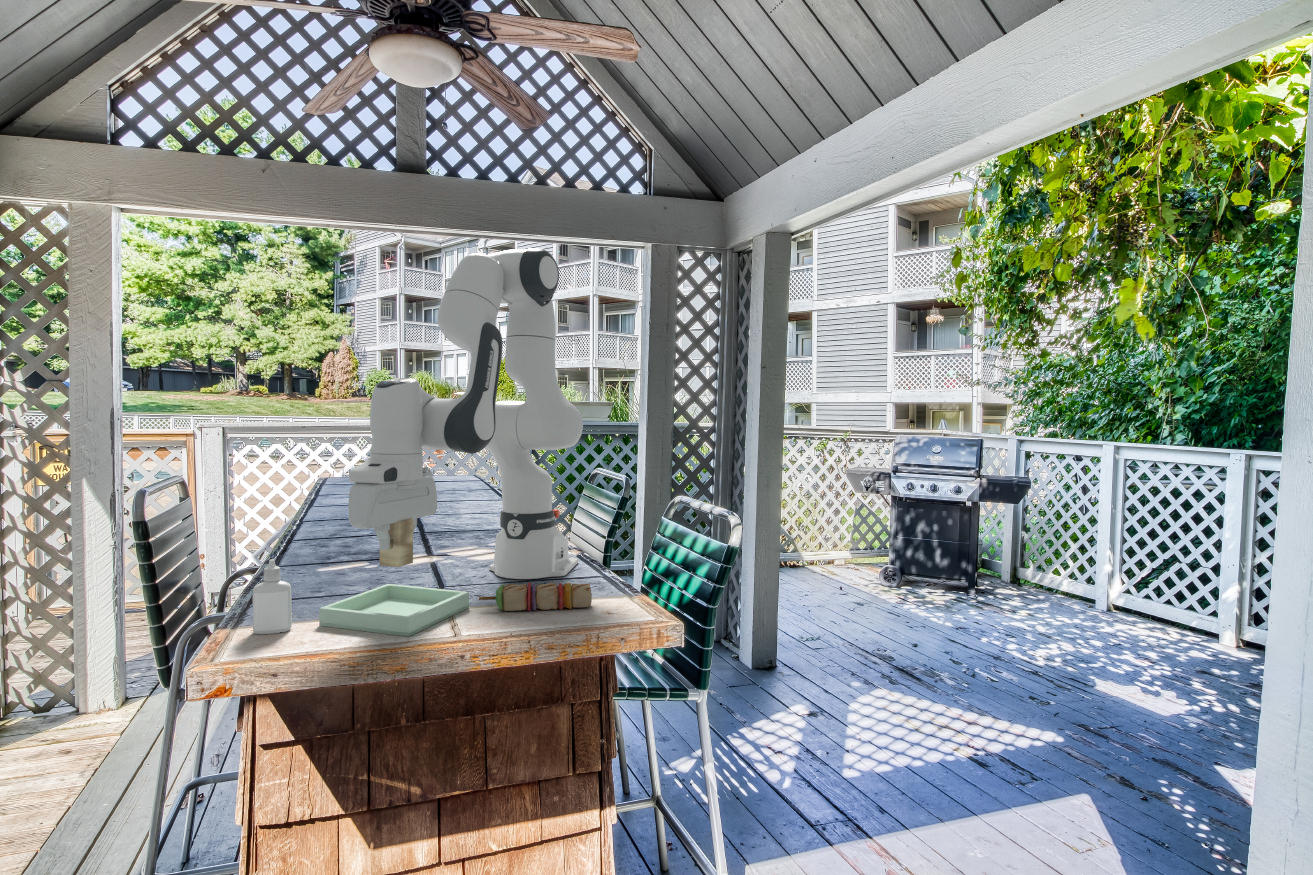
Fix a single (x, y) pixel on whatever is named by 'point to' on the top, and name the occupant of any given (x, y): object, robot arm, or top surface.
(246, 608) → the top surface
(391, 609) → the tray
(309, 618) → the top surface
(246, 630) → the top surface
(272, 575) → the eye dropper bottle
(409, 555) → the birch block
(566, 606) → the skewer
